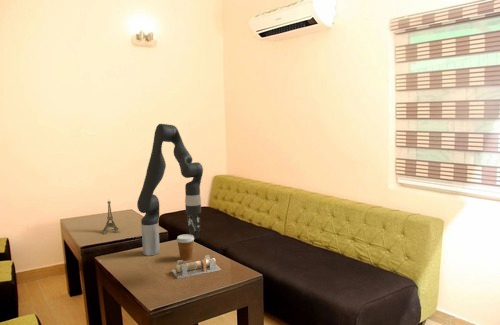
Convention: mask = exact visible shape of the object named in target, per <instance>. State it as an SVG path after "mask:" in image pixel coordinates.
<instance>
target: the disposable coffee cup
mask: <svg viewBox="0 0 500 325" xmlns="http://www.w3.org/2000/svg"><path fill="white" fill-rule="evenodd" d="M194 240H195V235H193V234H190V233H186V234H180V235H177V238H176V241H177V245H178V251H179V258H180V259H179V260H183V261H188V260H191V259H193V251H194Z"/></svg>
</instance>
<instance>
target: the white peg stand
mask: <svg viewBox="0 0 500 325" xmlns="http://www.w3.org/2000/svg"><path fill="white" fill-rule="evenodd" d="M206 259H209V260H208V263H209V266H208V267H206ZM202 260H203V268H198V269H193V270H188V271H187V265H186V264H185V263H184V260H181V259H179V260H177V261H176V262H177V264H176V265H180V264H182V265H181V272H177V273H176V270H175V269H171V272H172V274H173V275H174V276H175V278H176V279H177V280H178V279H182V278H188V277H193V276H199V275H203V274H207V273H213V272H218V271H221V270H222V268H221V267H220V266H219V265H217V264H216V265H215V264H214V259H212V258H211V255H210V254H206V255H204V256H203V258H202Z"/></svg>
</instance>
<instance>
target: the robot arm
mask: <svg viewBox="0 0 500 325" xmlns="http://www.w3.org/2000/svg"><path fill="white" fill-rule="evenodd" d="M153 136H154V137H153V143H152V149H151V153H150V157H149V160H148V163H147V164H148V165H147V169H146V172H145V173H146V174H145V178H144V181H143V184H142V188H141V191H140V193H139V197H138V199H137V205H136V206H137V209H138V211H139V212H140V213H142V214H144V216H143V217H142V218H141V220H140V223H141V224H140V225H141V237H142V238H141V240H142V254H143V255H144V256H155V255H158V254H160V252H161V250H160V249H161V248H160V247H161V246H160V231H159V219H160V200H159V198H158V196H157V195H156V194H154V192H155V190H156V188H157V187H158V185H159V184H160V183H161V181H162V179H163V177H164V174H165V171H166V167H167V164H166V161H165V160H166V159H165V157H164V154H163V151H162V147H163V143H164V142H166V143H172V144H173V146H174V147H173V156H174V158H175V160H176V161H177V162H178V165H179V169H180V174H181V176H182V177H183V178H185V179H190V178H192V180H191V181H189V182H187V183H185V187H184V188H185V189H184V190H185V199H184V203H185V214H187V215H186V220H187V222H186V223H187V225H188V228H189V229H188V232H189V233H188V234H189V235H193V234H194V239H200V231H201V230H202V222H201V217H199V216H198V215H199V214H201V213H202V199H201V183H202V178H203V172H204V167H203V164H201V162H193V157H192V155H191V154H190V152H189V151H188V149H187V148H186V146H185V144H184V142H183V138H182V136H181V135H180V132H179V130H178V128H177V126H176V125H173V124H167V123H158V125H157V126H156V128H155V131H154V134H153Z"/></svg>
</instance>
